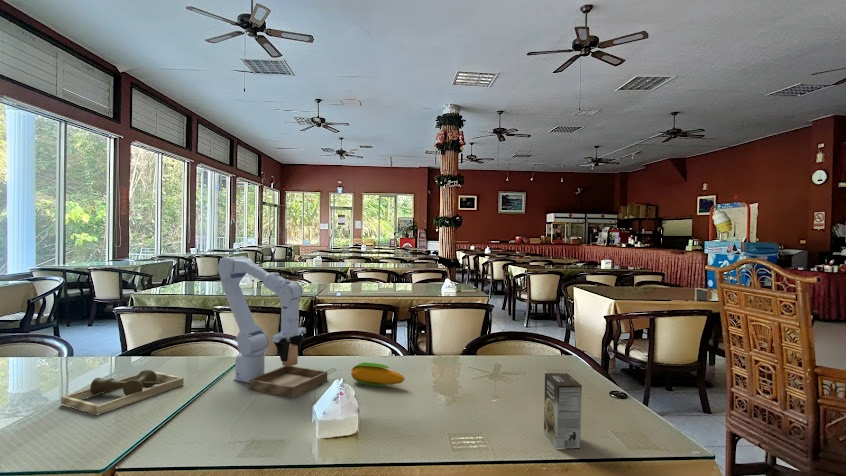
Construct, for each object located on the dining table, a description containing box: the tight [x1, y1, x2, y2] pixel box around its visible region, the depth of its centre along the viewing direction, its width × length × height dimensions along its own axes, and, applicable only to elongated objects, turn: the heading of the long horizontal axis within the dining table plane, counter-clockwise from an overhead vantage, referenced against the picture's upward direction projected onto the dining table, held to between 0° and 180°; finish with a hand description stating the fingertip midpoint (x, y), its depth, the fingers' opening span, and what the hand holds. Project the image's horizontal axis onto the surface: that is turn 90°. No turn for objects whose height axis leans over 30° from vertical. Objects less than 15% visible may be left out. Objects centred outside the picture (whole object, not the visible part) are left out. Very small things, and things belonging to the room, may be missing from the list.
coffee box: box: [543, 372, 583, 449], centre depth 113 cm, size 9×6×16 cm
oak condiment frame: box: [60, 370, 185, 415], centre depth 139 cm, size 17×27×2 cm, turn 157°
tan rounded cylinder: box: [281, 343, 299, 366], centre depth 150 cm, size 5×5×6 cm
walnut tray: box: [249, 365, 328, 399], centre depth 150 cm, size 18×18×3 cm
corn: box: [350, 362, 405, 388], centre depth 151 cm, size 7×8×20 cm
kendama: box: [89, 369, 162, 396], centre depth 139 cm, size 6×10×20 cm
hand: (289, 358), depth 150 cm, fingers closed on tan rounded cylinder, 5 cm apart
